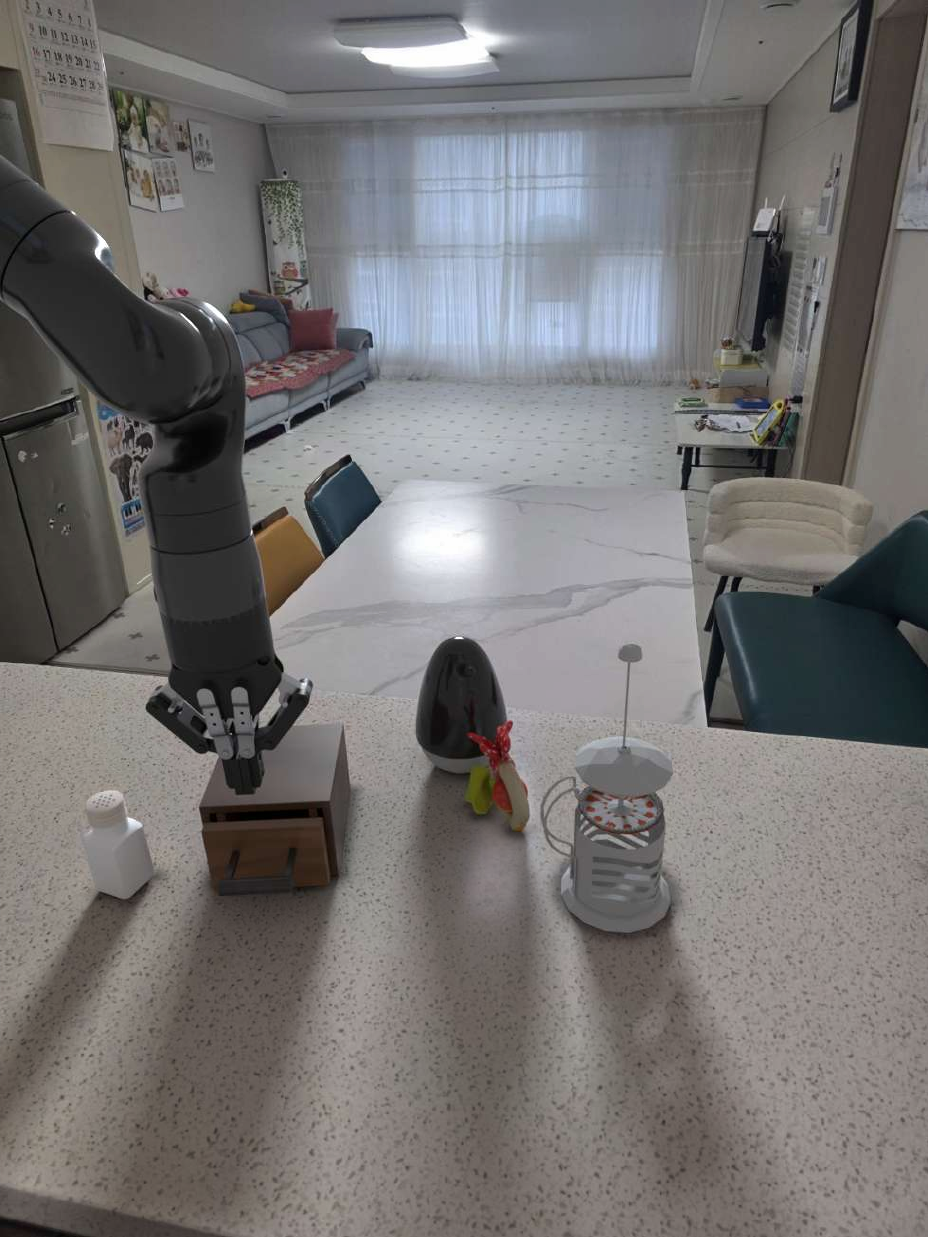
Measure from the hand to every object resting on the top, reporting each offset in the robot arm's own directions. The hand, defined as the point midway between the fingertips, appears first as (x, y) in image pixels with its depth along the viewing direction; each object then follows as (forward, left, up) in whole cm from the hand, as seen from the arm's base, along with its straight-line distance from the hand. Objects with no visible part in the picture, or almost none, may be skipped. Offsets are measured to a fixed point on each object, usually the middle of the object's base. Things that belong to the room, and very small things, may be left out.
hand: (247, 788), depth 67 cm
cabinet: (0, +10, -13) cm, 17 cm away
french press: (+30, 0, -14) cm, 33 cm away
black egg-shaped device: (+18, +21, -14) cm, 31 cm away
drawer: (0, +5, -13) cm, 14 cm away
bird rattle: (+22, +11, -14) cm, 28 cm away
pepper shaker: (-14, +4, -14) cm, 20 cm away
